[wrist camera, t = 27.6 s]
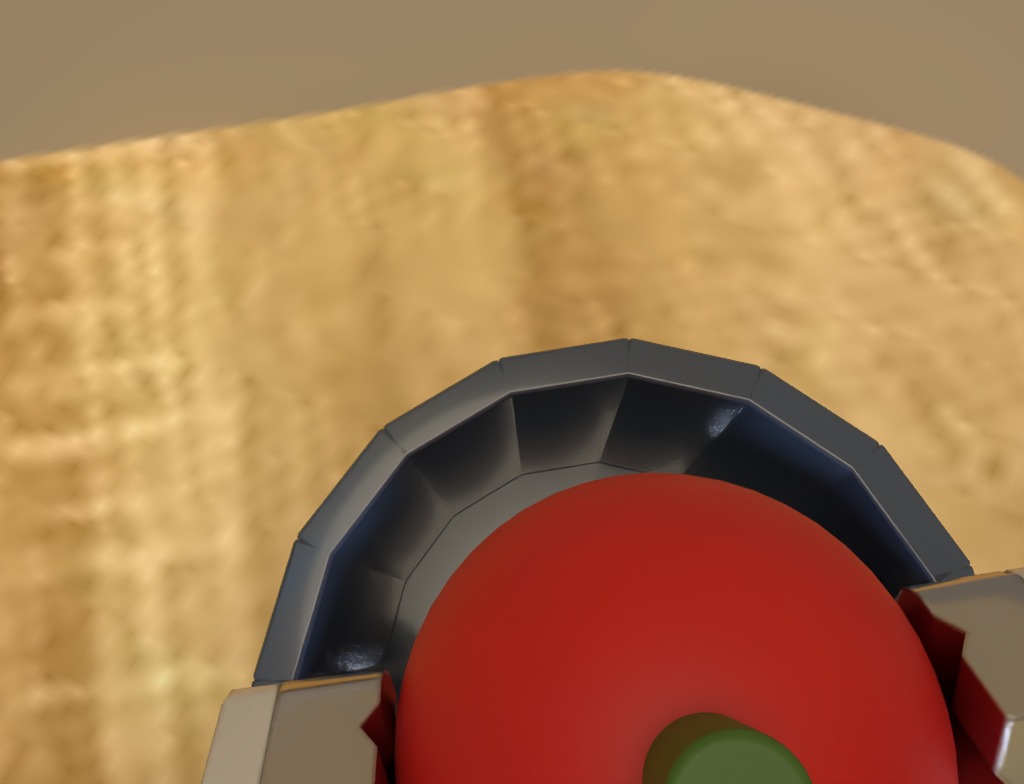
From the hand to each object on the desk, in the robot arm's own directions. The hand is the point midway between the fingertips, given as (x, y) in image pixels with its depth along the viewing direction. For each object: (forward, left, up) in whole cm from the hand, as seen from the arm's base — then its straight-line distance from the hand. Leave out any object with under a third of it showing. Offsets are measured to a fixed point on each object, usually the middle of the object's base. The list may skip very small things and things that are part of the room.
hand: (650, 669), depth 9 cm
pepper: (0, 0, -4) cm, 4 cm away
